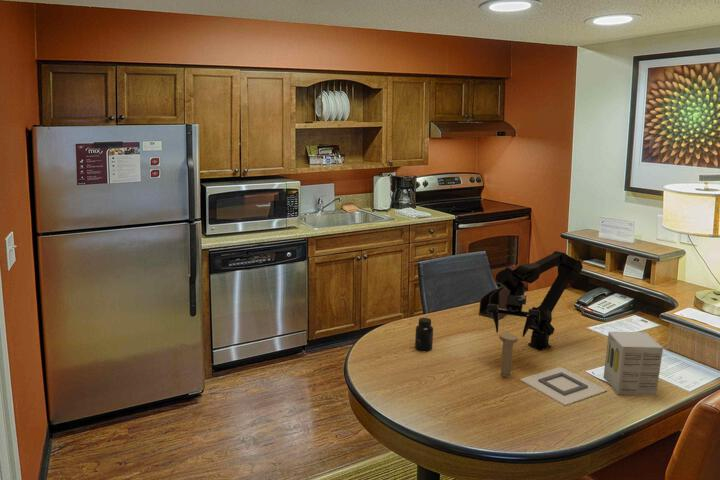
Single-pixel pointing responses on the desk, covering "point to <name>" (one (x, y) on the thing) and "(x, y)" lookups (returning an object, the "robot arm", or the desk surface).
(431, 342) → the supplement bottle
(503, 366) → the handle
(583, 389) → the socket plate
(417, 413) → the desk surface
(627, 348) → the supplement box
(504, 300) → the letter holder
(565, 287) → the robot arm
